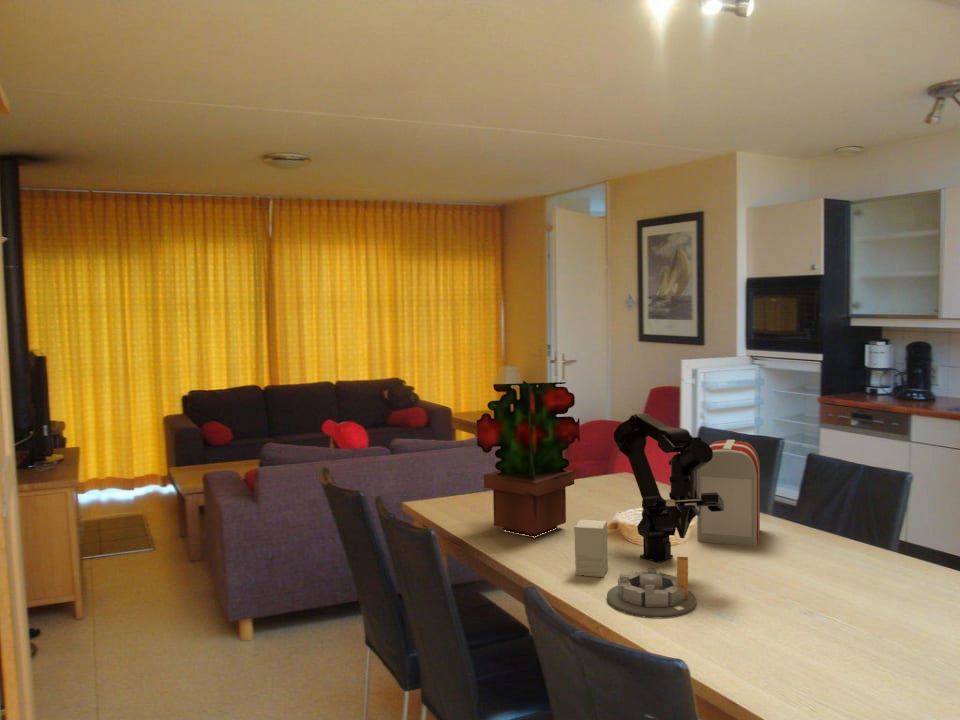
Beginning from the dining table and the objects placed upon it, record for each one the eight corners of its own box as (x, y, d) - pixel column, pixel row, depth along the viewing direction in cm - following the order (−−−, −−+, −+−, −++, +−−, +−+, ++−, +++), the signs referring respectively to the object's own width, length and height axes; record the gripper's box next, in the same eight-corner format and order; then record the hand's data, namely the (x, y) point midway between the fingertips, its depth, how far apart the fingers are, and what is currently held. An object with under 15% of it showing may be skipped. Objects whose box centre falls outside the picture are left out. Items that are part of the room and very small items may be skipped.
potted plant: (580, 528, 245) (578, 381, 242) (538, 545, 228) (535, 388, 225) (523, 517, 259) (520, 378, 256) (479, 532, 242) (475, 384, 239)
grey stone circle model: (589, 601, 184) (588, 577, 183) (641, 579, 197) (641, 558, 197) (662, 625, 169) (662, 599, 169) (713, 600, 183) (713, 576, 182)
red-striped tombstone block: (696, 541, 229) (695, 447, 227) (703, 525, 245) (703, 437, 243) (757, 546, 223) (757, 450, 221) (760, 529, 239) (760, 440, 237)
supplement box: (608, 568, 206) (608, 520, 205) (603, 578, 199) (603, 528, 198) (580, 566, 209) (579, 518, 208) (574, 575, 202) (573, 526, 201)
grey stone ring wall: (606, 595, 183) (606, 557, 183) (643, 580, 193) (643, 543, 193) (660, 612, 173) (660, 571, 172) (697, 595, 182) (697, 556, 182)
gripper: (729, 487, 199) (730, 547, 192) (656, 491, 208) (655, 550, 201) (717, 469, 191) (717, 531, 184) (642, 474, 200) (639, 534, 193)
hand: (681, 537), depth 190 cm, fingers closed
